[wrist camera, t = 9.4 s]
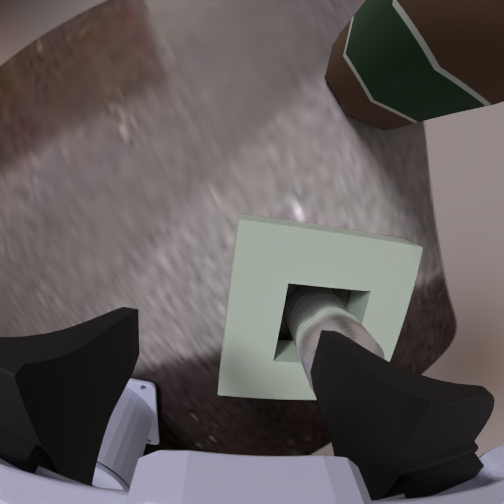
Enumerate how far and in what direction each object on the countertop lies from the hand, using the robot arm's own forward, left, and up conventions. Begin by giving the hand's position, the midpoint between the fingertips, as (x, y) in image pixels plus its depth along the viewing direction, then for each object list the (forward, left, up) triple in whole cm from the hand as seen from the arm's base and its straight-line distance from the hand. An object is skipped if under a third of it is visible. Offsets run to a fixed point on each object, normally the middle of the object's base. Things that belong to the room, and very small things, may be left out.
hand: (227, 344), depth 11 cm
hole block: (+6, -2, -9) cm, 11 cm away
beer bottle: (+8, +15, -10) cm, 20 cm away
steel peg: (+6, -2, -9) cm, 11 cm away
